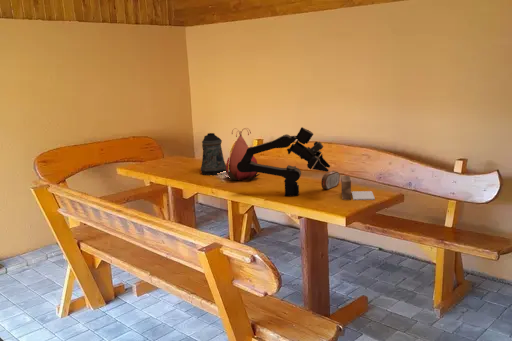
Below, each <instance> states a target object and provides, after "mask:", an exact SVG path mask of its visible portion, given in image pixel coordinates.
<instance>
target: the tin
mask: <svg viewBox="0 0 512 341" xmlns="http://www.w3.org/2000/svg"><path fill="white" fill-rule="evenodd" d="M340 177H341V176H340V173H339V172H338V171H336V170H332V171H328V172H326V173H324V174H323V176H322V178H321V182H320V184H321V188H322V189H323V190H330V189H332V188H336V187H337V186H338V185H339V183H340Z"/></svg>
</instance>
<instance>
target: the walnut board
mask: <svg viewBox="0 0 512 341" xmlns="http://www.w3.org/2000/svg"><path fill="white" fill-rule="evenodd" d="M340 177H341V179H340V180H341V183H340V185H341V199H342V200H343V201H347V200H348V201H349V200H350V201H351V200H352V181H351V176H350V175H341V176H340Z"/></svg>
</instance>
